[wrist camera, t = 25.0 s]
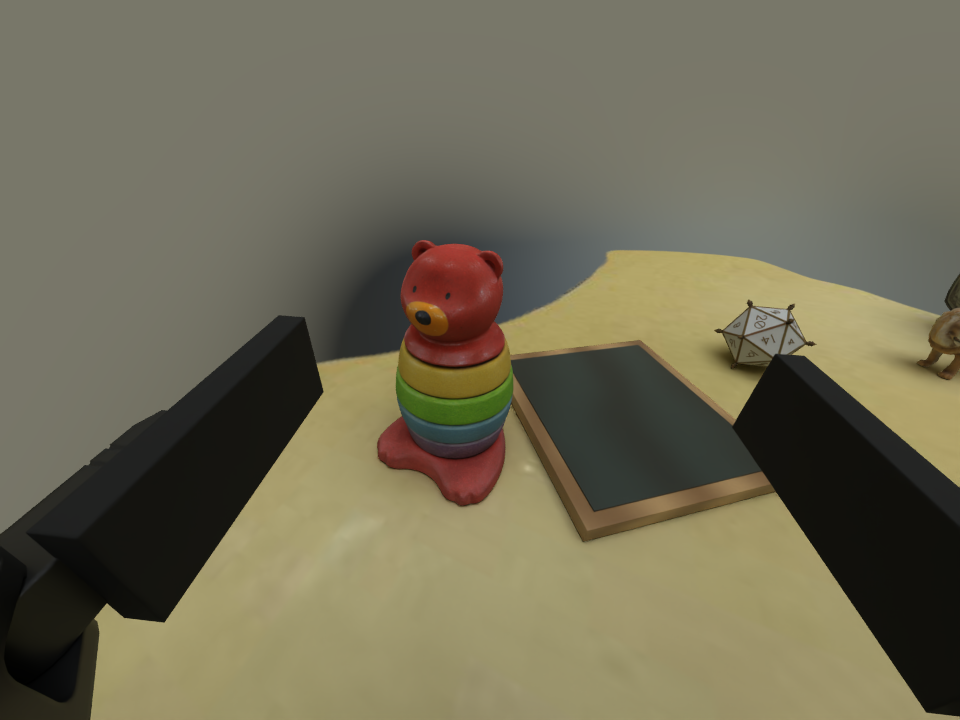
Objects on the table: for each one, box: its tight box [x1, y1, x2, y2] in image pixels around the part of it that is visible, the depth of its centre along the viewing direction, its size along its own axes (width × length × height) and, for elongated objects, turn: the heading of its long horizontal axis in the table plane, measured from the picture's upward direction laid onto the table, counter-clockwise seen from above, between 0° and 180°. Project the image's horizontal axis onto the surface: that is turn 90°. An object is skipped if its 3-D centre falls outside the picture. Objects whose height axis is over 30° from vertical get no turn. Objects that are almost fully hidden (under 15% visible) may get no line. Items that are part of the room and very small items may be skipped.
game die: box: [714, 300, 817, 369], centre depth 44 cm, size 9×8×10 cm
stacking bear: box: [377, 240, 514, 505], centre depth 28 cm, size 11×10×18 cm
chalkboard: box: [510, 340, 775, 542], centre depth 37 cm, size 20×22×2 cm
